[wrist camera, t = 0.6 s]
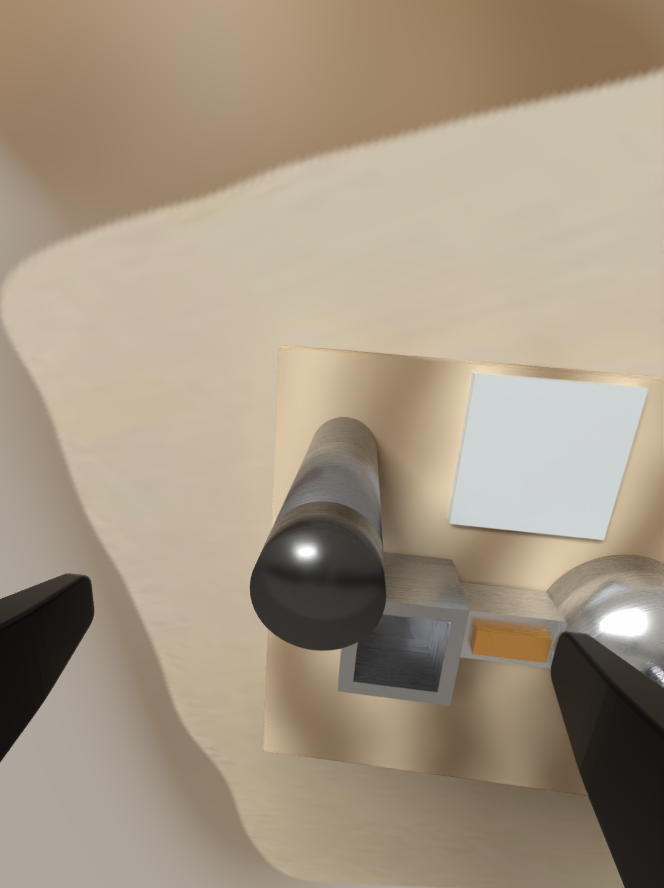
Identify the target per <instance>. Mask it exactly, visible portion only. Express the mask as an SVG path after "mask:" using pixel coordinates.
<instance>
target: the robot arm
mask: <svg viewBox="0 0 664 888" xmlns="http://www.w3.org/2000/svg"><path fill="white" fill-rule="evenodd" d="M93 617H94V602H93V593H92V584H91V580H90V578H89V577H88V576H86V575H80V574H71V573H68V574H64V575H61V576H58V577H56V578H53V579H51V580H48V581H46V582H43V583H40V584H38V585H35V586H33V587H30V588H28V589H25V590H22V591H20V592H17V593H15V594H12V595H10V596H7V597H5V598H2V599H0V762H1V760H2V759H3V758H4V757H5V755H6V754H7V752H8V751H9V750H10V748H11V747H12V746H13V744H14V742H15V741H16V740H17V739H18V737H19V736H20V734H21V733H22V732H23V730H24V729H25V728H26V726H27V725H28V723H29V722H30V721H31V719H32V718H33V716H34V715H35V714H36V712H37V711H38V709H39V708H40V706H41V705H42V704H43V702H44V701H45V699H46V698H47V696H48V694H49V693H50V691H51V690H52V688H53V687H54V685H55V683H56V681H57V680H58V678H59V676H60V675H61V673H62V671H63V670H64V668H65V667H66V665H67V663H68V662H69V660H70V658H71V656H72V655H73V653H74V651H75V650H76V648H77V646H78V645H79V643H80V641H81V640H82V638H83V636H84V634H85V633H86V631H87V630H88V628H89V626H90V624H91V622H92V620H93ZM551 680H552V684H553V687H554V690H555V694H556V697H557V701H558V704H559V707H560V711H561V714H562V718H563V721H564V724H565V728H566V731H567V734H568V738H569V741H570V745H571V748H572V751H573V755H574V758H575V761H576V764H577V767H578V770H579V773H580V776H581V778H582V781H583V784H584V786H585V789H586V792H587V794H588V797H589V799H590V802H591V804H592V807H593V809H594V812H595V814H596V817H597V819H598V822H599V824H600V827H601V829H602V832H603V834H604V837H605V839H606V842H607V844H608V847H609V849H610V852H611V854H612V857H613V859H614V862H615V864H616V867H617V869H618V872H619V874H620V877H621V879H622V882H623V884H624V887H625V888H664V688H663V687H662V686H660V685H659V684H657V683H656V682H655V681H653V680H652V679H650V678H649V677H648V676H646V675H645V674H643V673H642V672H641V671H639V670H638V669H636V668H635V667H633V666H632V665H631V664H629V663H628V662H626V661H625V660H624V659H622V658H621V657H619V656H618V655H617V654H615V653H614V652H612V651H611V650H610V649H608V648H607V647H605V646H604V645H602V644H601V643H600V642H598V641H597V640H595V639H594V638H593V637H591V636H590V635H588V634H586V633H580V632H572V631H564V632H562V633H561V634H560V636H559V638H558V642H557V645H556V649H555V653H554V656H553V660H552V664H551Z"/></svg>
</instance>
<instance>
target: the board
mask: <svg viewBox="0 0 664 888" xmlns="http://www.w3.org/2000/svg"><path fill="white" fill-rule="evenodd" d="M472 372H478V373H490V374H502V375H514V376H526V377H537V378H549V379H561V380H573V381H584V382H596V383H608V384H620V385H631V386H640V387H644V388H648V392H647V396H646V399H645V403H644V406H643V409H642V413H641V416H640V419H639V423H638V426H637V430H636V433H635V436H634V440H633V443H632V447H631V450H630V453H629V457H628V460H627V463H626V467H625V470H624V474H623V477H622V480H621V484H620V487H619V490H618V494H617V497H616V501H615V504H614V507H613V511H612V514H611V517H610V521H609V524H608V528H607V531H606V534H605V538H604V540H599V539H589V538H580V537H570V536H561V535H551V534H542V533H532V532H523V531H513V530H504V529H494V528H485V527H475V526H466V525H456V524H450V523H449V521H448V518H447V516H448V510H449V504H450V498H451V492H452V487H453V481H454V475H455V469H456V463H457V457H458V452H459V446H460V440H461V434H462V428H463V422H464V417H465V411H466V405H467V399H468V393H469V387H470V382H471V376H472ZM338 417H349V418H353V419H356V420H359V421H360V422H362V423H364V424H365V425H366V426H367V427H368V428H369V429H370V430H371V432H372V433H373V435H374V437H375V440H376V445H377V459H378V474H379V490H380V505H381V521H382V536H383V552H387V553H397V554H406V555H415V556H424V557H433V558H442V559H451V560H452V561H453V564H454V567H455V570H456V573H457V576H458V579H459V582H466V583H475V584H484V585H493V586H502V587H510V588H519V589H528V590H537V591H547V590H548V589H549V588H550V587H551V585H552V584H553V583H554V582H555V581H556V580H557V579H559V578H560V577H561V576H562V575H564V574H565V573H566V572H568V571H569V570H571V569H573V568H575V567H577V566H578V565H580V564H583V563H585V562H588V561H590V560H593V559H597V558H601V557H605V556H611V555H638V556H644V557H649V558H652V559H655V560H658V561H660V562H663V563H664V377H656V376H644V375H632V374H620V373H608V372H596V371H584V370H572V369H560V368H548V367H536V366H524V365H512V364H501V363H489V362H477V361H465V360H453V359H441V358H429V357H417V356H405V355H393V354H381V353H369V352H357V351H345V350H333V349H321V348H309V347H297V346H283V347H280V348H278V374H277V401H276V428H275V454H274V481H273V508H272V527H273V525H274V523H275V521H276V519H277V516H278V514H279V512H280V510H281V508H282V505H283V503H284V501H285V499H286V497H287V494H288V492H289V490H290V488H291V486H292V483H293V481H294V479H295V477H296V475H297V472H298V470H299V468H300V466H301V463H302V461H303V459H304V457H305V455H306V452H307V450H308V448H309V446H310V444H311V441H312V439H313V437H314V435H315V433H316V431H317V430H318V429H319V427H320V426H321V425H323V424H324V423H325V422H327V421H329V420H331V419H334V418H338ZM340 653H341V649H337V650H330V651H316V650H309V649H304V648H300V647H297V646H294V645H292V644H289V643H287V642H285V641H284V640H282V639H280V638H279V637H277V636H276V635H274V634H273V633H272V632H271V631H270V630H269V629H268V641H267V668H266V694H265V721H264V748H263V751H269V752H276V753H284V754H291V755H298V756H305V757H313V758H320V759H327V760H334V761H342V762H349V763H356V764H363V765H371V766H378V767H385V768H392V769H400V770H407V771H414V772H421V773H429V774H436V775H443V776H450V777H457V778H465V779H472V780H479V781H486V782H494V783H501V784H508V785H515V786H523V787H530V788H537V789H544V790H552V791H559V792H566V793H573V794H581V795H588V794H587V792H586V789H585V786H584V784H583V781H582V778H581V776H580V773H579V770H578V767H577V764H576V761H575V758H574V755H573V751H572V748H571V745H570V741H569V738H568V734H567V731H566V728H565V724H564V721H563V718H562V714H561V711H560V707H559V704H558V701H557V697H556V694H555V690H554V687H553V684H552V680H551V670H550V668H543V667H535V666H527V665H519V664H511V663H502V662H494V661H486V660H478V659H470V658H461V657H460V660H459V665H458V670H457V675H456V680H455V685H454V690H453V695H452V700H451V705H450V706H446V705H439V704H431V703H423V702H415V701H408V700H400V699H392V698H384V697H377V696H369V695H361V694H353V693H346V692H338V691H337V689H338V677H339V665H340Z"/></svg>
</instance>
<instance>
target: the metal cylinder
mask: <svg viewBox="0 0 664 888" xmlns="http://www.w3.org/2000/svg"><path fill="white" fill-rule="evenodd" d="M250 595H251V600H252V604H253V607H254V609H255V611H256V613H257V615H258V617H259V618H260V620H261V621H262V623H263V624H264V625H265V626H266V627H267V628H268V629H269V630H270V631H271V632H272V633H273V634H274V635H276V636H277V637H279V638H280V639H282V640H284V641H285V642H287V643H289V644H292V645H294V646H297V647H300V648H304V649H309V650H316V651H330V650H337V649H341V648H345V647H348V646H350V645H353V644H355V643H357V642H359V641H360V640H362V639H363V638H365V637H366V636H367V635H368V634H369V633H371V632H372V631H373V629H374V628H375V627H376V626H377V624H378V623H379V621H380V619H381V617H382V615H383V612H384V609H385V604H386V583H385V567H384V552H383V536H382V521H381V505H380V490H379V474H378V459H377V445H376V440H375V437H374V435H373V433H372V432H371V430H370V429H369V428H368V427H367V426H366V425H365V424H364V423H362V422H360V421H359V420H356V419H353V418H349V417H338V418H334V419H331V420H329V421H327V422H325V423H324V424H323V425H321V426H320V427H319V429H318V430H317V431H316V433H315V435H314V437H313V439H312V441H311V444H310V446H309V448H308V450H307V452H306V455H305V457H304V459H303V461H302V463H301V466H300V468H299V470H298V472H297V475H296V477H295V479H294V481H293V483H292V486H291V488H290V490H289V492H288V494H287V497H286V499H285V501H284V503H283V505H282V508H281V510H280V512H279V514H278V516H277V519H276V521H275V523H274V525H273V527H272V530H271V532H270V534H269V536H268V539H267V541H266V543H265V545H264V547H263V550H262V552H261V554H260V556H259V558H258V561H257V563H256V565H255V567H254V570H253V572H252V576H251V581H250Z"/></svg>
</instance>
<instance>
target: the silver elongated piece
mask: <svg viewBox="0 0 664 888" xmlns="http://www.w3.org/2000/svg"><path fill="white" fill-rule="evenodd" d="M384 567H385V583H386V604H385V609H384V612H383V615H382V617H381V619H380V621H379V623H378V624H377V626H376V627H375V628H374V629H373V631H372V632H371V633H369V634H368V635H367V636H366V637H365V638H363V639H362V640H360V641H359V642H357V643H355V644H353V645H350V646H348V647H345V648H341V653H340V665H339V677H338V689H337V691H338V692H346V693H353V694H361V695H369V696H377V697H384V698H392V699H400V700H408V701H415V702H423V703H431V704H439V705H446V706H450V705H451V700H452V695H453V690H454V685H455V680H456V675H457V670H458V665H459V660H460V657H461V658H470V659H478V660H486V661H494V662H502V663H511V664H519V665H527V666H535V667H543V668H550V670H551V664H552V660H553V656H554V653H555V649H556V645H557V642H558V638H559V636H560V634H561V633H562V632H564V631H572V632H580V633H586V634H588V635H590V636H591V637H593V638H594V639H595V640H597V641H598V642H600V643H601V644H602V645H604V646H605V647H607V648H608V649H610V650H611V651H612V652H614V653H615V654H617V655H618V656H619V657H621V658H622V659H624V660H625V661H626V662H628V663H629V664H631V665H632V666H633V667H635V668H636V669H638V670H639V671H641V672H642V673H643V674H645V675H646V676H648V677H649V678H650V679H652V680H653V681H655V682H656V683H657V684H659V685H660V686H662V687H663V688H664V563H663V562H660V561H658V560H655V559H652V558H649V557H644V556H638V555H611V556H605V557H601V558H597V559H593V560H590V561H588V562H585V563H583V564H580V565H578V566H577V567H575V568H573V569H571V570H569V571H568V572H566V573H565V574H564V575H562V576H561V577H560V578H559V579H557V580H556V581H555V582H554V583H553V584H552V585H551V587H550V588H549V589H548V590H547V591H537V590H528V589H519V588H510V587H502V586H493V585H484V584H475V583H466V582H459V579H458V576H457V573H456V570H455V567H454V564H453V561H452V560H451V559H442V558H433V557H424V556H415V555H406V554H397V553H387V552H384Z"/></svg>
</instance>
